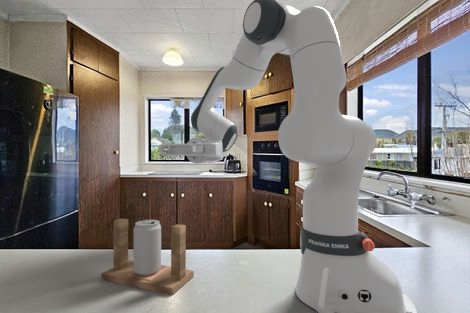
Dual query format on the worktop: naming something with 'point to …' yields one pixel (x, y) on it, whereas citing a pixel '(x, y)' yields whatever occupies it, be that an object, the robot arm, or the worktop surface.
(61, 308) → the worktop surface
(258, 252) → the worktop surface
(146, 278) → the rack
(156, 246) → the beverage can
